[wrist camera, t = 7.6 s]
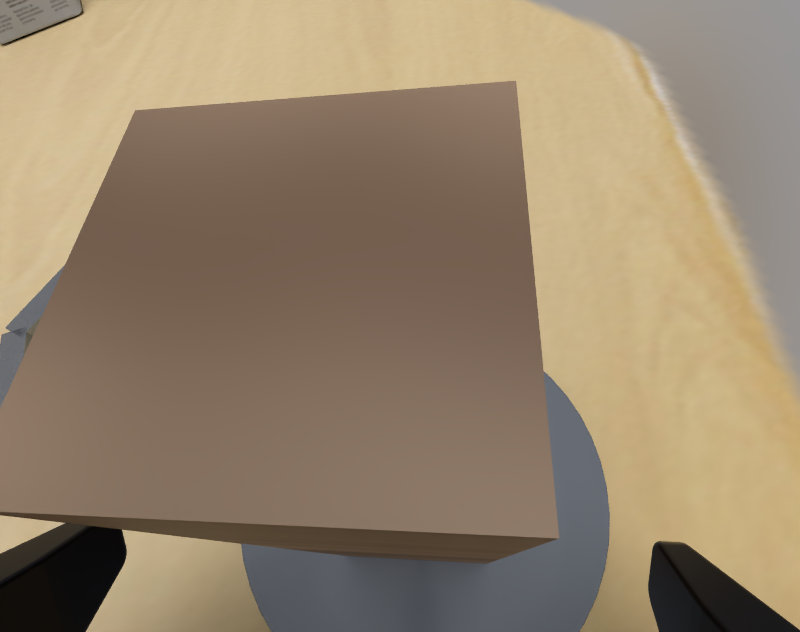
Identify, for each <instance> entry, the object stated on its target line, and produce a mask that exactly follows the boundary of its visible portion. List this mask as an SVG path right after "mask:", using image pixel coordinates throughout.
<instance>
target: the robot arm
mask: <svg viewBox="0 0 800 632" xmlns="http://www.w3.org/2000/svg"><path fill="white" fill-rule="evenodd" d="M126 555H127V549H126V544H125V540H124V536H123V532H122V529H114V528H106V527H97V526H89V525H80V524H72V523H65V524H63V525H61V526H59V527H56V528H54V529H52V530H50V531H48V532H46V533H44V534H41V535H39V536H37V537H35V538H33V539H31V540H29V541H27V542H24V543H22V544H20V545H18V546H16V547H14V548H12V549H9V550H7V551H5V552H3V553H1V554H0V632H86V630H87V628H88V627H89V625H90V623H91V621H92V620H93V618H94V616H95V614H96V613H97V611H98V609H99V607H100V605H101V604H102V602H103V600H104V598H105V597H106V595H107V593H108V591H109V590H110V588H111V586H112V584H113V583H114V581H115V579H116V577H117V576H118V574H119V572H120V570H121V569H122V567H123V565H124V562H125V559H126ZM648 590H649V597H650V602H651V606H652V609H653V612H654V616H655V619H656V622H657V626H658V629H659V632H800V630H799V629H798V628H796V627H795V626H794V625H792V624H791V623H790V622H788V621H787V620H786V619H785V618H783V617H782V616H781V615H779V614H778V613H777V612H775V611H774V610H773V609H771V608H770V607H769V606H767V605H766V604H765V603H763V602H762V601H761V600H760V599H758V598H757V597H756V596H754V595H753V594H752V593H750V592H749V591H748V590H746V589H745V588H744V587H742V586H741V585H740V584H739V583H737V582H736V581H735V580H733V579H732V578H731V577H729V576H728V575H727V574H725V573H724V572H723V571H721V570H720V569H719V568H717V567H716V566H715V565H714V564H712V563H711V562H710V561H708V560H707V559H706V558H704V557H703V556H702V555H700V554H699V553H698V552H696V551H695V550H694V549H693V548H691V547H690V546H688V545H687V544H685V543H681V542H666V541H658V542H656V543H655V544H654V546H653V550H652V558H651V566H650V574H649V583H648Z"/></svg>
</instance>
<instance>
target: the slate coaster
mask: <svg viewBox="0 0 800 632" xmlns="http://www.w3.org/2000/svg"><path fill="white" fill-rule="evenodd" d="M543 372H544V371H543ZM544 382H545V393H546V404H547V414H548V425H549V435H550V446H551V456H552V467H553V478H554V488H555V499H556V509H557V520H558V530H559V539H556V540H554V541H551V542H548V543H545V544H542V545H539V546H536V547H534V548H531V549H528V550H525V551H522V552H519V553H516V554H514V555H511V556H508V557H505V558H502V559H499V560H496V561H494V562H491V563H488V564H482V563H464V562H446V561H428V560H410V559H392V558H374V557H356V556H342V555H333V554H325V553H317V552H308V551H300V550H291V549H283V548H274V547H266V546H257V545H249V544H241V545H242V553H243V561H244V565H245V569H246V572H247V576H248V580H249V584H250V587H251V590H252V592H253V595H254V597H255V600H256V602H257V605H258V607H259V610H260V612H261V614H262V616H263V617H264V619H265V621H266V623H267V625H268V626H269V628H270V630H271V632H579V631H580V629H581V628H582V626H583V625H584V623H585V621H586V619H587V617H588V614H589V612H590V610H591V608H592V606H593V603H594V601H595V599H596V597H597V594H598V590H599V587H600V583H601V580H602V577H603V573H604V570H605V564H606V558H607V551H608V545H609V518H610V513H609V504H608V494H607V486H606V482H605V478H604V474H603V469H602V465H601V461H600V458H599V456H598V453H597V450H596V448H595V445H594V442H593V440H592V437H591V435H590V433H589V431H588V430H587V428H586V426H585V424H584V422H583V420H582V418H581V416H580V414H579V413H578V412H577V410H576V409H575V407H574V406H573V404H572V403H571V401H570V400H569V398H568V397H567V396H566V394H565V393H564V392H563V391H562V390H561V389H560V388H559V386H558V385H557V384H556V383H555V382H554V381H553V380H552V378H551V377H549V376H548V375H547V374H546V373H545V372H544Z"/></svg>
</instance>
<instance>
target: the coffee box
mask: <svg viewBox="0 0 800 632" xmlns="http://www.w3.org/2000/svg"><path fill="white" fill-rule="evenodd" d="M81 11H82V7H81V3H80V0H0V43H1V44H4V43H7V42H10V41H12V40H15V39H17V38H20V37H22V36H25V35H27V34H30V33H32V32H35V31H38V30H40V29H43V28H45V27H48V26H50V25H53V24H55V23H58V22H61V21H63V20H66V19H68V18H71V17H74V16H77V15H79V14H80V13H81Z"/></svg>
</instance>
